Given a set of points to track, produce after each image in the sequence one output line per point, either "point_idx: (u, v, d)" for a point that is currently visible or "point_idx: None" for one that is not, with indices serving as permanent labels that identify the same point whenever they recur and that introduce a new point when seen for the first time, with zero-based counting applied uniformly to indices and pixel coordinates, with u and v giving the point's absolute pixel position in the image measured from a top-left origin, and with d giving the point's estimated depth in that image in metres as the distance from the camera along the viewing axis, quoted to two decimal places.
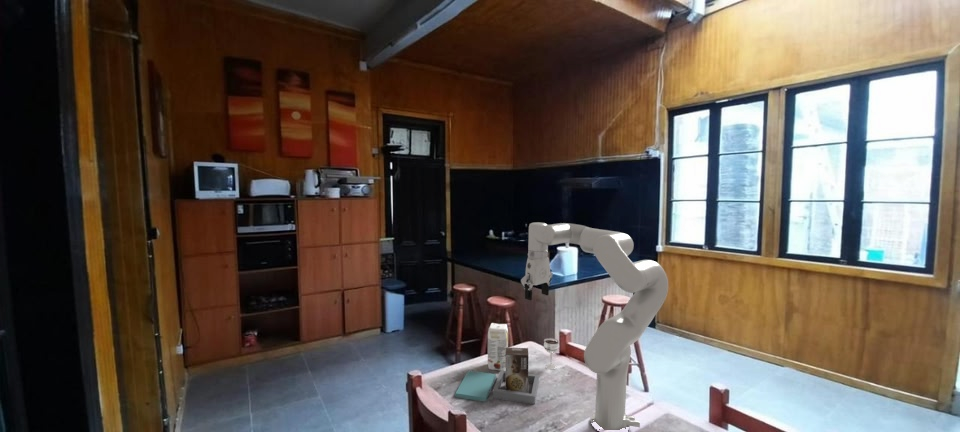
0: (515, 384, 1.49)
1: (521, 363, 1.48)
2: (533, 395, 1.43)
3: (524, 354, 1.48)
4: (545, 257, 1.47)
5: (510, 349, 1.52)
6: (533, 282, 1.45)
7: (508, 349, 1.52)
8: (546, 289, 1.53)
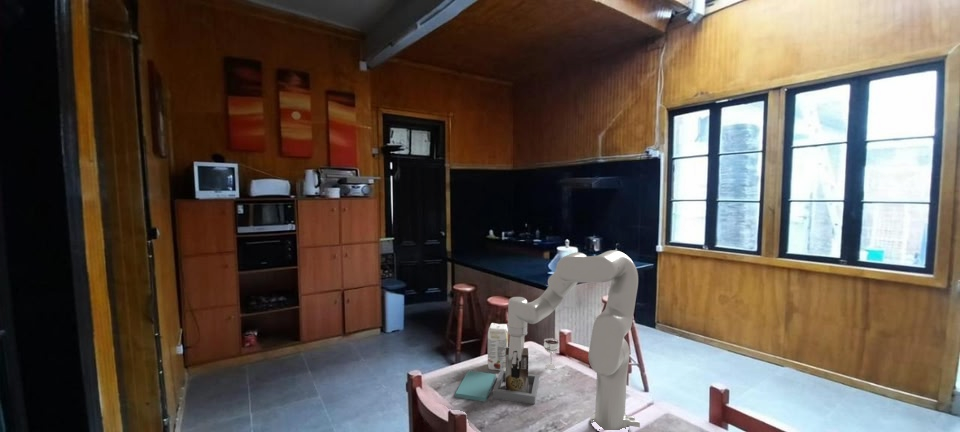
0: (515, 384, 1.49)
1: (520, 363, 1.48)
2: (533, 395, 1.43)
3: (524, 354, 1.48)
4: None
5: None
6: None
7: (508, 349, 1.52)
8: None
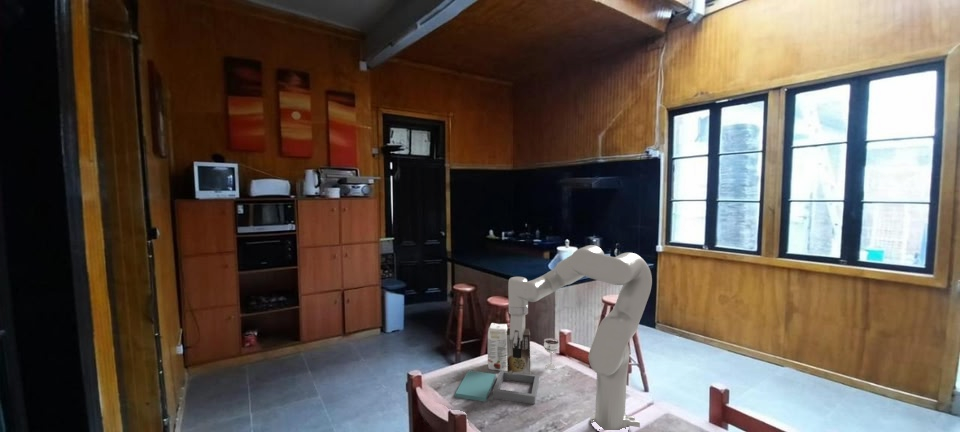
0: (517, 365, 1.48)
1: (522, 342, 1.47)
2: (533, 395, 1.43)
3: (525, 334, 1.47)
4: None
5: None
6: None
7: (509, 329, 1.51)
8: None
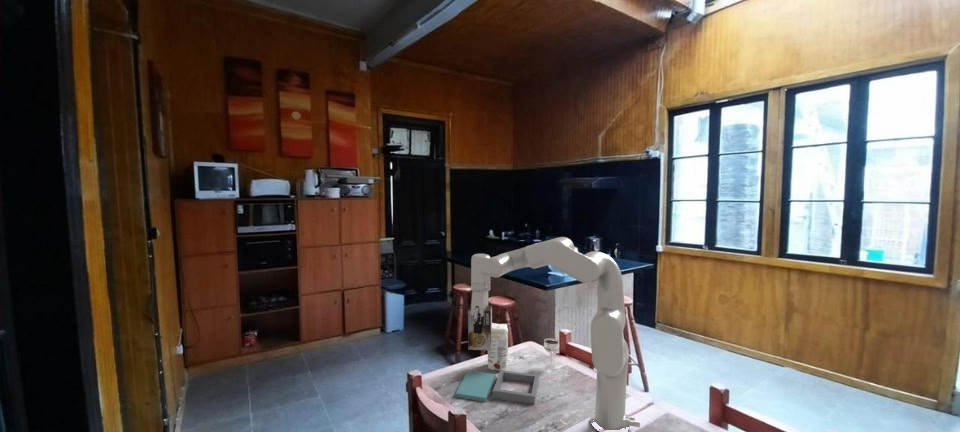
0: (478, 340, 1.49)
1: (483, 318, 1.48)
2: (533, 395, 1.43)
3: (487, 310, 1.48)
4: None
5: None
6: None
7: None
8: None
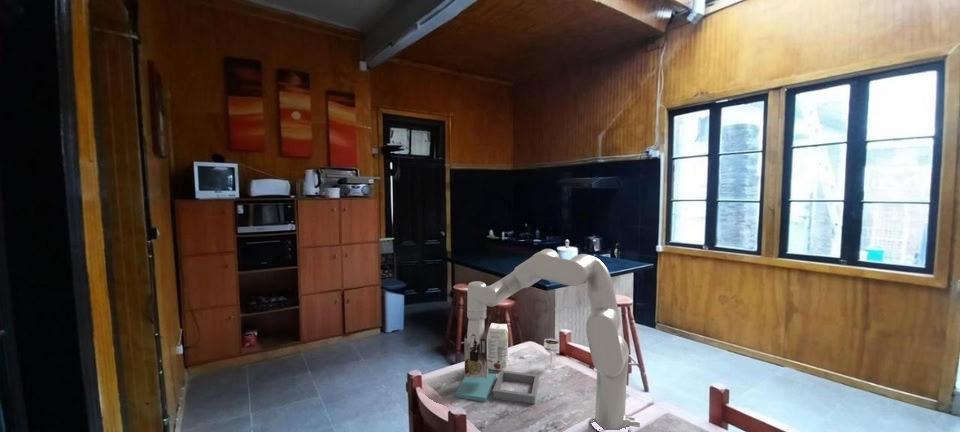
0: (474, 368, 1.50)
1: (479, 346, 1.49)
2: (533, 395, 1.43)
3: (483, 337, 1.49)
4: None
5: None
6: None
7: None
8: None
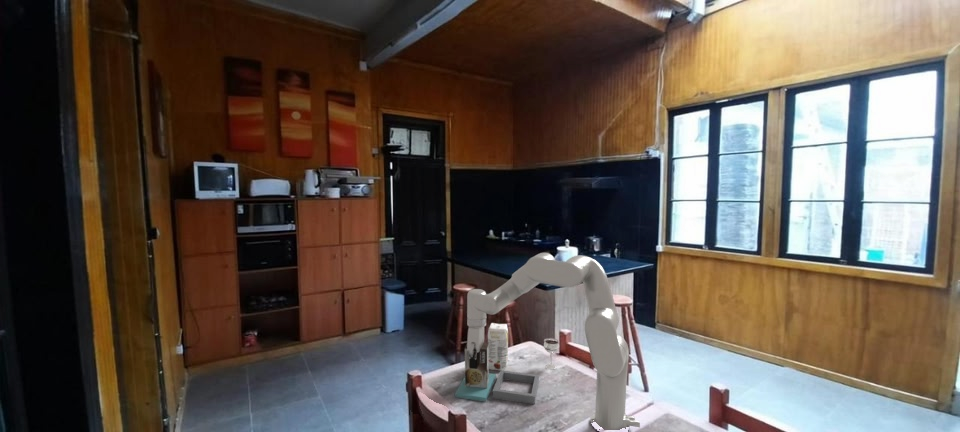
0: (475, 378, 1.50)
1: (479, 357, 1.49)
2: (533, 395, 1.43)
3: (483, 348, 1.50)
4: None
5: None
6: None
7: None
8: None
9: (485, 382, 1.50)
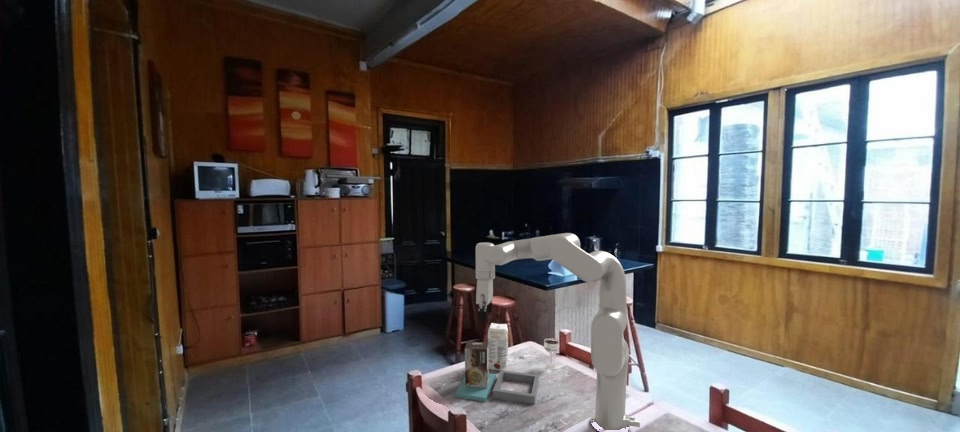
0: (475, 378, 1.50)
1: (479, 357, 1.49)
2: (533, 395, 1.43)
3: (483, 348, 1.50)
4: None
5: (470, 343, 1.54)
6: None
7: (469, 343, 1.54)
8: None
9: (485, 382, 1.50)
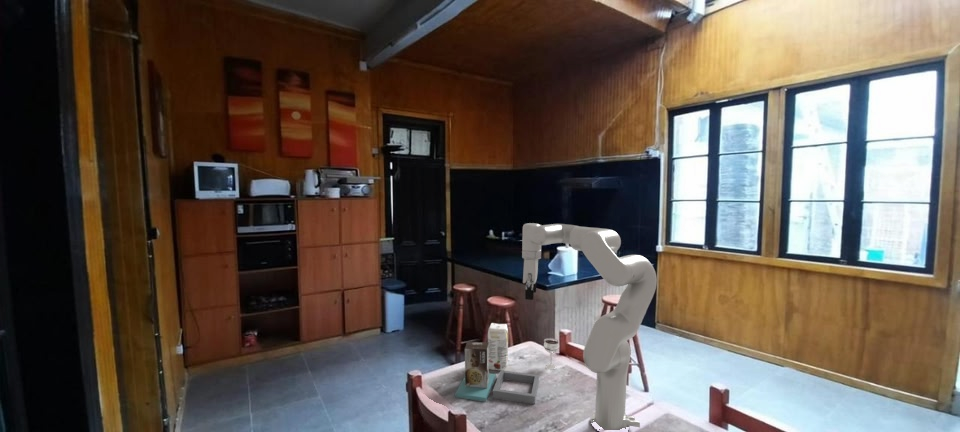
0: (475, 378, 1.50)
1: (479, 357, 1.49)
2: (533, 395, 1.43)
3: (483, 348, 1.50)
4: (522, 255, 1.54)
5: (470, 343, 1.54)
6: None
7: (469, 343, 1.54)
8: None
9: (485, 382, 1.50)
